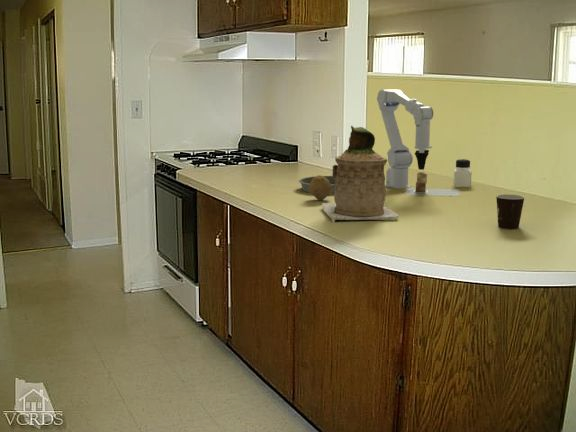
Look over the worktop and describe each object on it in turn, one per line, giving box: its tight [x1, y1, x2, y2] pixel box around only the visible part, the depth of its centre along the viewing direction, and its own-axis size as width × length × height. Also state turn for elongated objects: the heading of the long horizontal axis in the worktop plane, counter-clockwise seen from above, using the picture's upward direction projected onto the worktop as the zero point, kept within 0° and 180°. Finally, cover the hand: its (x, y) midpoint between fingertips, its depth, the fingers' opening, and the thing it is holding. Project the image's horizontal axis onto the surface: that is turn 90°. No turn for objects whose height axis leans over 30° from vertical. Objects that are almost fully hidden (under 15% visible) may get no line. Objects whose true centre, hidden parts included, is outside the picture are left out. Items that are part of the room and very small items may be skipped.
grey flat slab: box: [405, 187, 461, 197], centre depth 272 cm, size 22×16×1 cm
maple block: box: [416, 171, 428, 184], centre depth 271 cm, size 4×4×4 cm
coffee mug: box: [495, 193, 525, 230], centre depth 208 cm, size 12×9×10 cm
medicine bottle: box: [453, 158, 472, 188], centre depth 286 cm, size 7×7×12 cm
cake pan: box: [298, 175, 335, 195], centre depth 283 cm, size 25×25×4 cm
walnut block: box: [415, 181, 427, 193], centre depth 272 cm, size 4×4×4 cm
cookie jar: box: [321, 125, 399, 223], centre depth 229 cm, size 25×25×32 cm
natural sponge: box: [309, 174, 332, 201], centre depth 258 cm, size 9×9×10 cm
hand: (421, 168), depth 271 cm, fingers open, 7 cm apart
